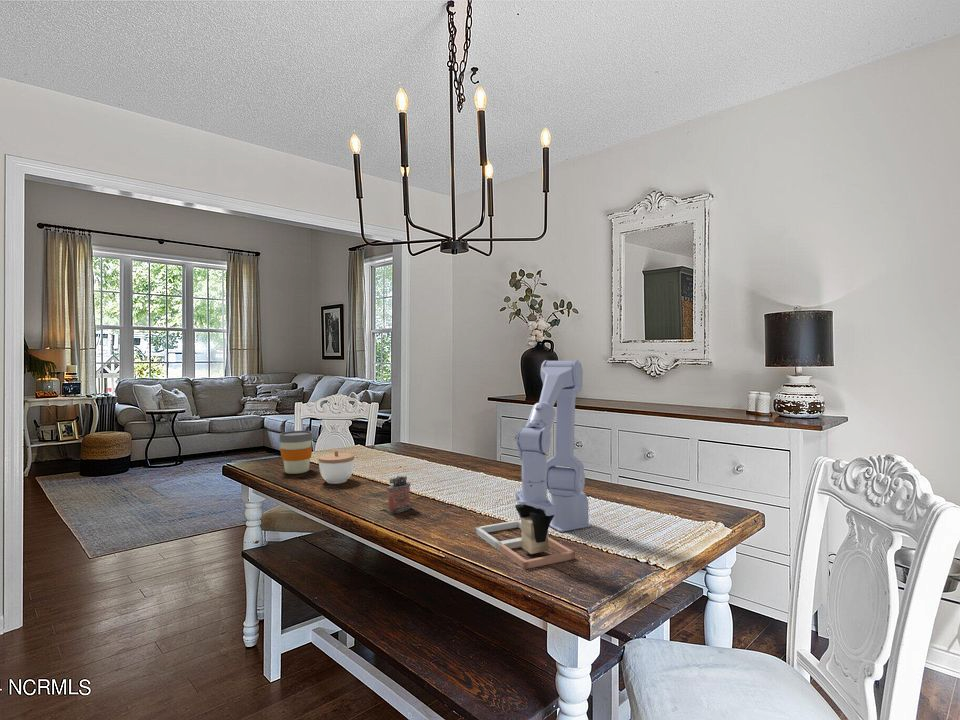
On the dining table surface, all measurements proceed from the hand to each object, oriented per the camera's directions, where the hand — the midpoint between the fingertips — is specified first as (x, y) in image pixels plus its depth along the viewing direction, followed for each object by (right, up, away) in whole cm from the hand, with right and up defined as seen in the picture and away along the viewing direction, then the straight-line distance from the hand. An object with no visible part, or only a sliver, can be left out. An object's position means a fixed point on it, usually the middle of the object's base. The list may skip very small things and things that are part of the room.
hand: (535, 538), depth 129 cm
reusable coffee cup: (-85, -3, +91) cm, 125 cm away
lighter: (-37, -4, +37) cm, 52 cm away
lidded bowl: (-64, -3, +73) cm, 98 cm away
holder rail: (-3, -4, +6) cm, 7 cm away
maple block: (0, -3, 0) cm, 3 cm away
